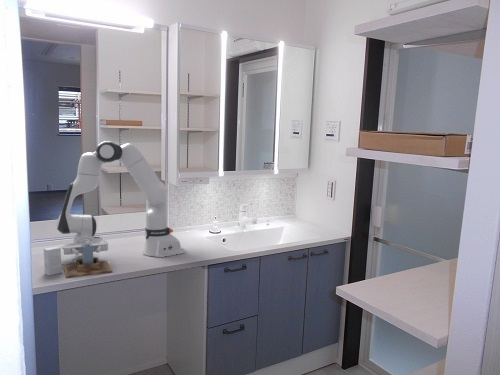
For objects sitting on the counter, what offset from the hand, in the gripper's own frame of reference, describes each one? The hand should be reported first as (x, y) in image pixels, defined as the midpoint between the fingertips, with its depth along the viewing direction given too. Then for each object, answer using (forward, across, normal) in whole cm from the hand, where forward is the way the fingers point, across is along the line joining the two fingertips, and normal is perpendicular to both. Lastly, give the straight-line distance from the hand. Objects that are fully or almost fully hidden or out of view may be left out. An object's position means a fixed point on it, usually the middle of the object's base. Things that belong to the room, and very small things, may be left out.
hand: (87, 251), depth 195 cm
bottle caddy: (-1, 0, +9) cm, 9 cm away
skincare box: (-2, -15, +9) cm, 18 cm away
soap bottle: (-1, 0, +8) cm, 8 cm away
